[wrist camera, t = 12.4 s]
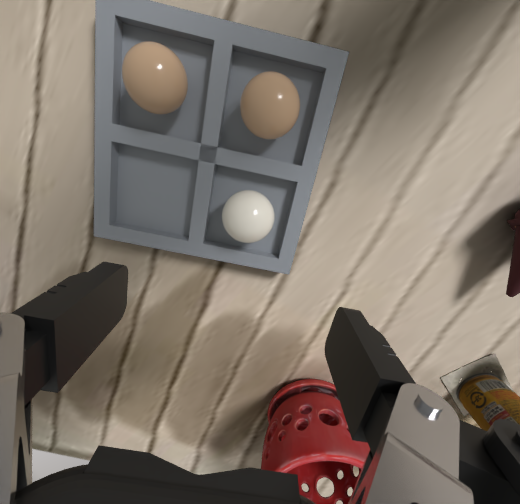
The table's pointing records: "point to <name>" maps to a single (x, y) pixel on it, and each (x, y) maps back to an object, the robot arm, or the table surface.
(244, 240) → the pale egg
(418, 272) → the table surface
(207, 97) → the egg tray
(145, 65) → the brown egg
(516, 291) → the icecream
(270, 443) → the plant pot
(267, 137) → the brown egg
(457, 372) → the condiment
